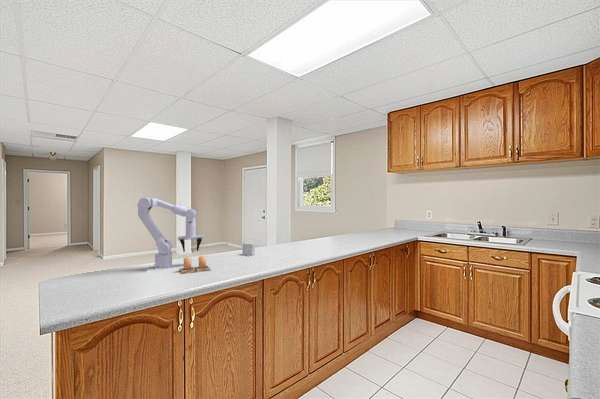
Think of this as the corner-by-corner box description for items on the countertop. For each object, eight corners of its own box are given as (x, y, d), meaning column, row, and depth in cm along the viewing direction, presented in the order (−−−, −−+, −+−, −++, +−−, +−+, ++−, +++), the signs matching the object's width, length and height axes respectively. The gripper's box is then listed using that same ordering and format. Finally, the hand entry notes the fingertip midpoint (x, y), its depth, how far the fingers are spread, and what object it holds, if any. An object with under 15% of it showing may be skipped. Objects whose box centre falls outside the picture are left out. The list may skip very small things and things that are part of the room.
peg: (184, 271, 157) (183, 259, 157) (183, 270, 161) (183, 257, 161) (191, 271, 159) (191, 258, 159) (191, 269, 163) (190, 257, 162)
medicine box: (254, 254, 207) (254, 243, 207) (252, 256, 203) (251, 244, 203) (245, 254, 210) (245, 242, 210) (242, 255, 205) (242, 243, 205)
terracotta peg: (199, 270, 161) (199, 257, 161) (198, 268, 164) (198, 256, 164) (206, 269, 163) (206, 257, 162) (205, 267, 166) (205, 255, 166)
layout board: (180, 276, 153) (180, 272, 153) (179, 270, 163) (179, 267, 163) (211, 272, 160) (211, 268, 160) (208, 267, 171) (208, 264, 171)
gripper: (178, 230, 166) (178, 253, 166) (204, 229, 172) (204, 251, 172) (177, 229, 172) (177, 251, 172) (202, 227, 178) (202, 249, 179)
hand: (190, 251), depth 173 cm, fingers open, 7 cm apart
